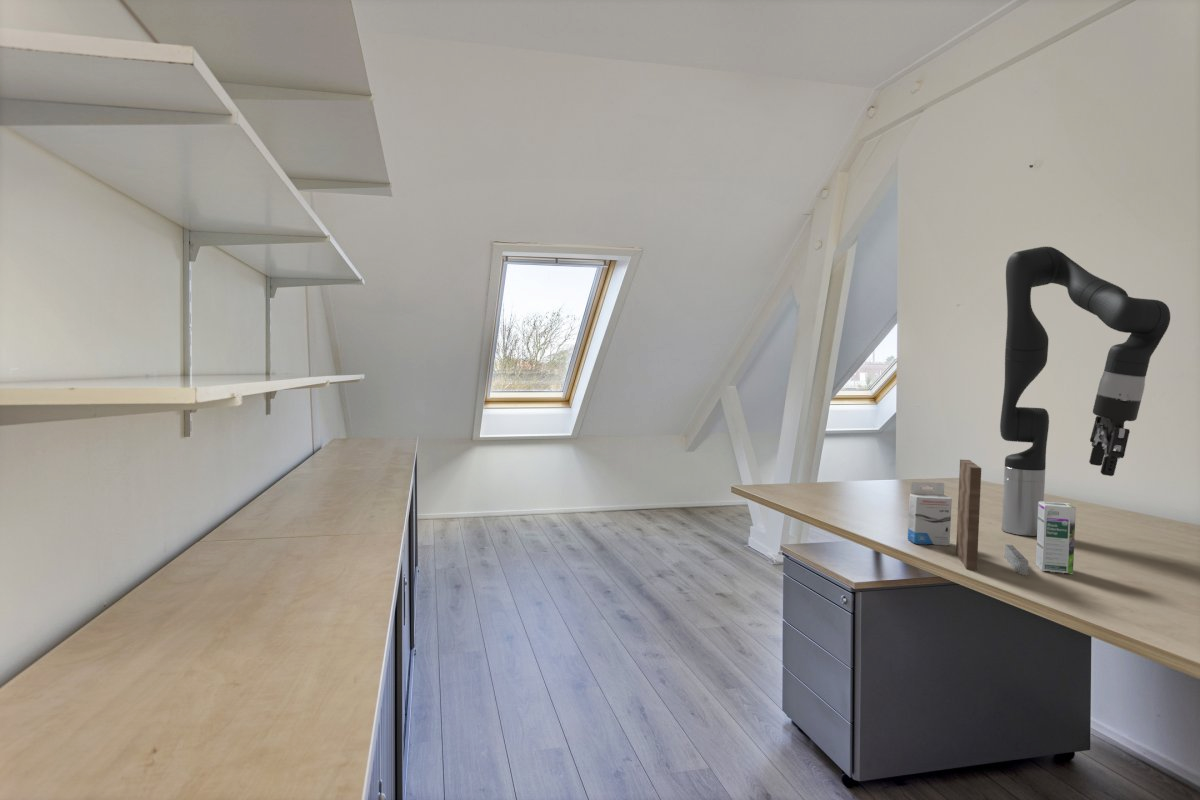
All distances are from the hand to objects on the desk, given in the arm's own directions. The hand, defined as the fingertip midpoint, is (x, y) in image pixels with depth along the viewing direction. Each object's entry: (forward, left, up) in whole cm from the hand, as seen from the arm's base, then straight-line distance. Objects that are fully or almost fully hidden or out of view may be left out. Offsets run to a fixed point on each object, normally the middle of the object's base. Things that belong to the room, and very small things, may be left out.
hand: (1100, 469), depth 147 cm
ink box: (-14, -31, -22) cm, 41 cm away
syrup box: (+1, -8, -22) cm, 24 cm away
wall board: (+1, -20, -22) cm, 30 cm away
